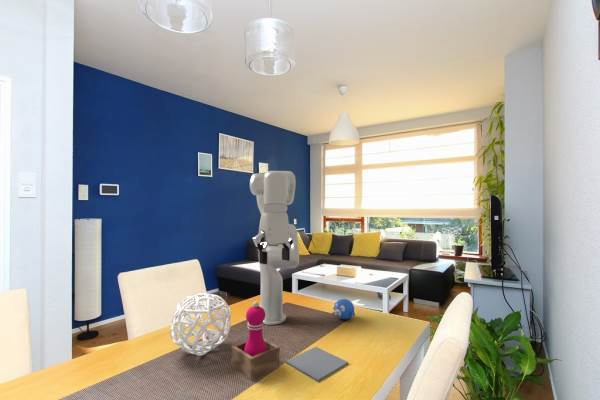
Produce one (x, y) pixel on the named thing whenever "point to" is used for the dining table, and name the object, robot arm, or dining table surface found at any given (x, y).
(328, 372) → the mat
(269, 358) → the holder
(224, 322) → the decorative ball
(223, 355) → the dining table surface
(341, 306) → the blue mole toy
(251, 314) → the pink bowling pin
